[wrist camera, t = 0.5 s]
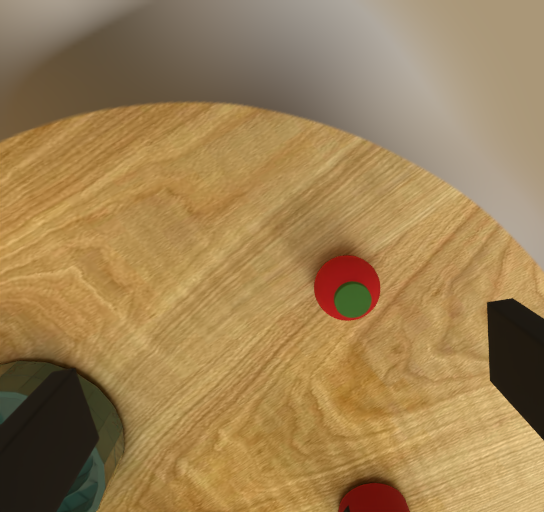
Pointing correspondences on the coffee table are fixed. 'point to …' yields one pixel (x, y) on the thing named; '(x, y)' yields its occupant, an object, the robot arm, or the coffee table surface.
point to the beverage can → (373, 499)
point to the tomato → (347, 287)
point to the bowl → (109, 449)
